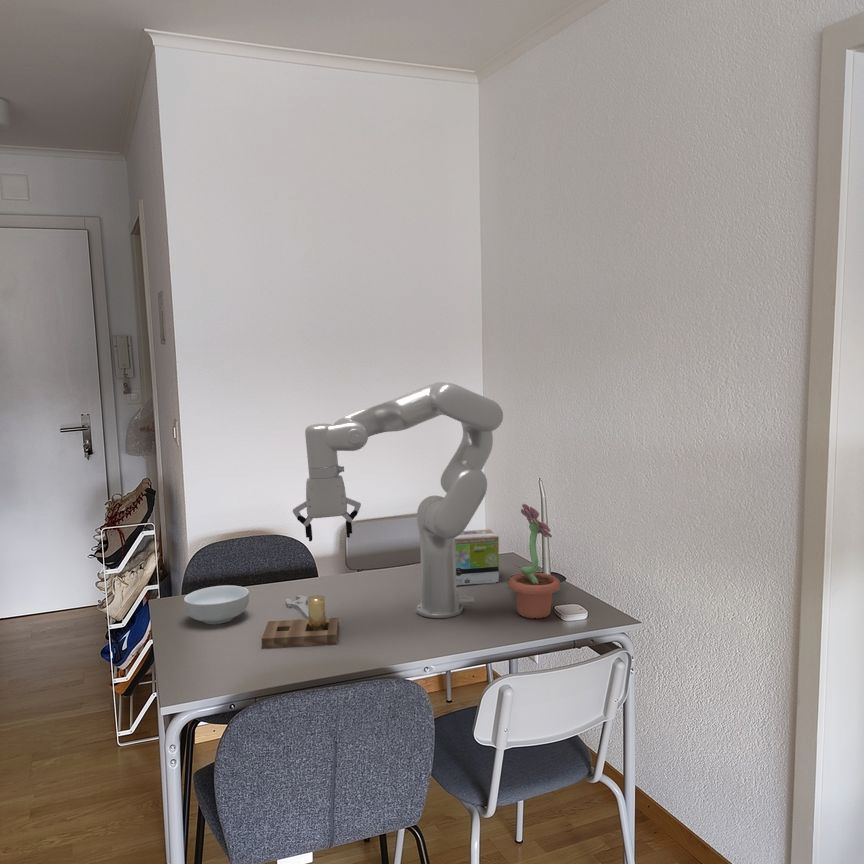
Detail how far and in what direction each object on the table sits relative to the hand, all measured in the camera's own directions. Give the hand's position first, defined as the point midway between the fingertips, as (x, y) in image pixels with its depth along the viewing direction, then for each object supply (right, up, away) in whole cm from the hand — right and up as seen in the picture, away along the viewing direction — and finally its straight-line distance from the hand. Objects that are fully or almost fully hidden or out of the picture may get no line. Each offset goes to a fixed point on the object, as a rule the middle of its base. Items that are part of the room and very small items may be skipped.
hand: (329, 538), depth 199 cm
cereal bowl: (-32, -24, +11) cm, 41 cm away
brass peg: (-3, -24, -4) cm, 25 cm away
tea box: (+38, -19, +39) cm, 58 cm away
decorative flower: (+54, -22, +7) cm, 58 cm away
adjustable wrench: (-9, -23, +14) cm, 28 cm away
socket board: (-7, -24, -4) cm, 26 cm away
